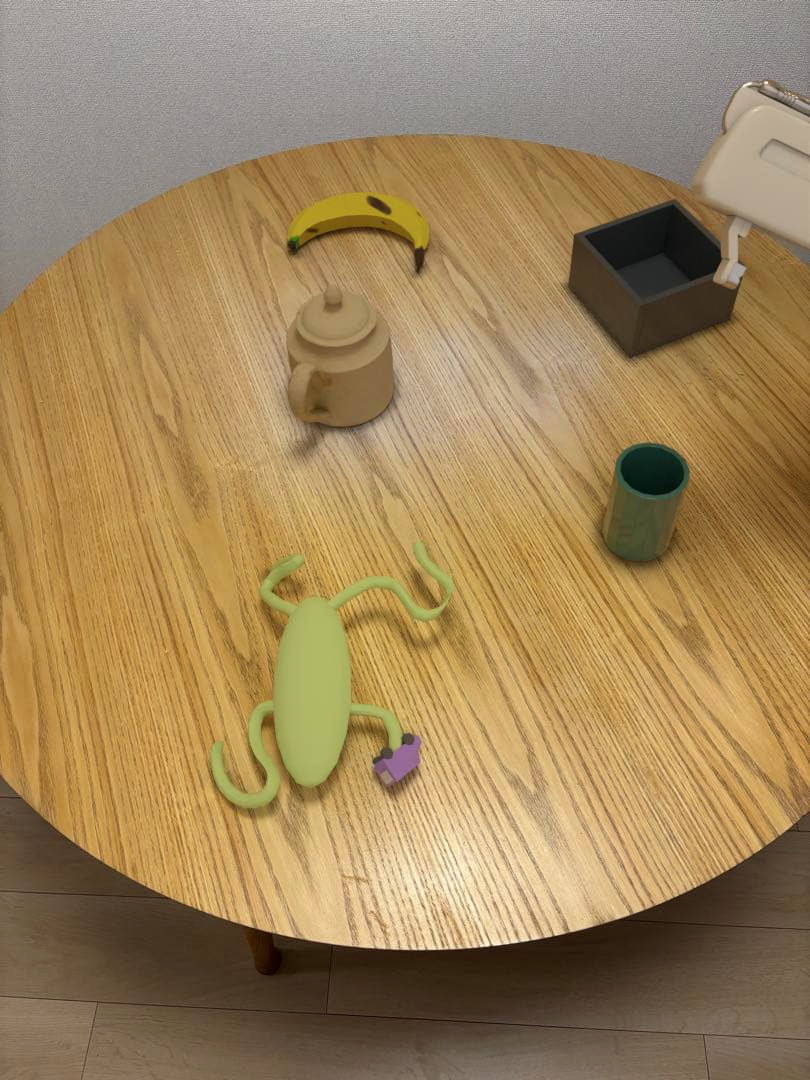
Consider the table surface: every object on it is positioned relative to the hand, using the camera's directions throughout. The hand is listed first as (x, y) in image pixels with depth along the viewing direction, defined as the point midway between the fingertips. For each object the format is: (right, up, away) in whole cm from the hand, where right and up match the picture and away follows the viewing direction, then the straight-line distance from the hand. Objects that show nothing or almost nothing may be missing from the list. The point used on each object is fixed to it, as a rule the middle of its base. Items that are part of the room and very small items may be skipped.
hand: (778, 310), depth 75 cm
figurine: (-34, -30, +16) cm, 48 cm away
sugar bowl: (-35, -2, +35) cm, 49 cm away
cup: (-5, -17, +23) cm, 29 cm away
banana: (-34, +19, +50) cm, 63 cm away
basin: (0, +11, +42) cm, 43 cm away
